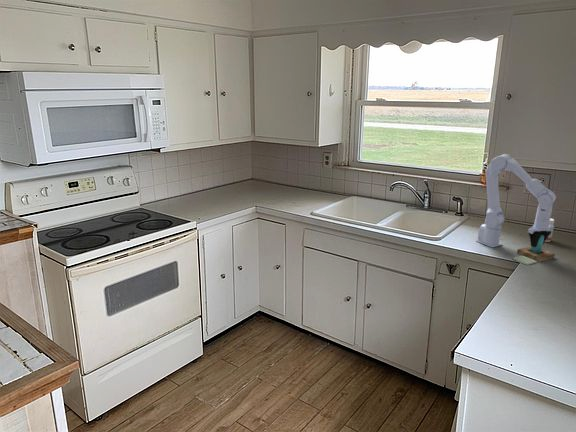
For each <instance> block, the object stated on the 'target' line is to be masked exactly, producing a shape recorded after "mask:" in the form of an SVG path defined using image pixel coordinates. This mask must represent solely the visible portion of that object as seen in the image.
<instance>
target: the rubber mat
mask: <svg viewBox="0 0 576 432" xmlns="http://www.w3.org/2000/svg"><path fill="white" fill-rule="evenodd" d="M513 259H514V260H513ZM512 260H513V261H515V260H516V262H518V263H521V264H523V265H525V266H528V265H532V264H536V263H538V261H535V260H533V259H530V258H528V257H525V256H523V255H520V256H515V257H513V258H512Z"/></svg>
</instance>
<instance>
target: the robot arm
mask: <svg viewBox="0 0 576 432" xmlns="http://www.w3.org/2000/svg"><path fill="white" fill-rule="evenodd" d="M502 171H507V172H513V174H514V175H515V176H517V177H518V178H519V179H520V180H521V181H523V182H524V183H525V188H526V189H527V191H529V192H530V193H531V194H532V195H533V196H534V197H535V198H536V199H537V202H538V205H537V208H536V209H537V210H536V212H535V213H536V214H535V218H534V223H533V225H532V226H531V227H529V228H528V230H527V233H528V235H529V236H528V237H529V239H530V241H529V242H530V246H532V247H536V246H537V243H538V240H539V238H540V237H541V236H542V235H544V241H543V245H544V244H545V243H546V242H545V240H546V239H547V237H548V236H549V235H550V234H551V231H550V230H551V229H552V226H553V225H554V224H553V225H550V224H549V221H550V218H551V217H552V211H553V207H554V206H553V205H554V204H553V203H554V202H555V200H556V199H557V195H556V194H555V193H554V191H552V190H550V188H547V186H545V185H544V184H543V181H542V180H541V179H537V178H533V177H531V176H530V175H529V173H528V172H527V171H526V170H525V169H524V168H523V167H522V166H521V165H520V164H519V163H518V162H517V160H516V159H515V158H513V157H512V155H510V154H508V153H503V154H501V155H498V156H495V157H493V158H492V159H491V160H490V161H489V165H488V166H487V168H486V170H485V173H484V174H485V185H486V196H487V197H486V198H487V199H486V200H487V210H486V212H485V214H486V216H485V219H484V223H483V224H481V225H480V227H479V229H478V235H477V239H476V241H475V242H478V243H480V244H483V245H485V246H487V247H489V248H496V247H500V246H503V243H502V242H500V238H501V233H502V228H503V227H502V224H504V222H505V215H504V213H503V209H502V208H501V204H500V203H501V201H500V191H499V177H498V175H499V174H500V173H502Z"/></svg>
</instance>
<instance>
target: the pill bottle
mask: <svg viewBox="0 0 576 432" xmlns="http://www.w3.org/2000/svg"><path fill="white" fill-rule="evenodd" d="M554 223H555V219H554V218H551V217H550V221H549V224H550V225H553V226H552V229H551V230H550V231H551V234H550V235H549V236H548V237H547V239H546V240H545V242H544V243H547V242H548V243H550V242H551V240H552V239H553V238H552V237H553V233H554V228H555V225H554Z"/></svg>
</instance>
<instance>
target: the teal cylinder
mask: <svg viewBox="0 0 576 432" xmlns="http://www.w3.org/2000/svg"><path fill="white" fill-rule="evenodd" d="M543 241H544V235H542V236H541V237H540V238H539V240H538V243H537V246H536V247H532V246H531V245H530V246H531V249H530V251H531V252H533V253H535V254H537V253H541V250H542V249H543V246H544V244H543Z"/></svg>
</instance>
